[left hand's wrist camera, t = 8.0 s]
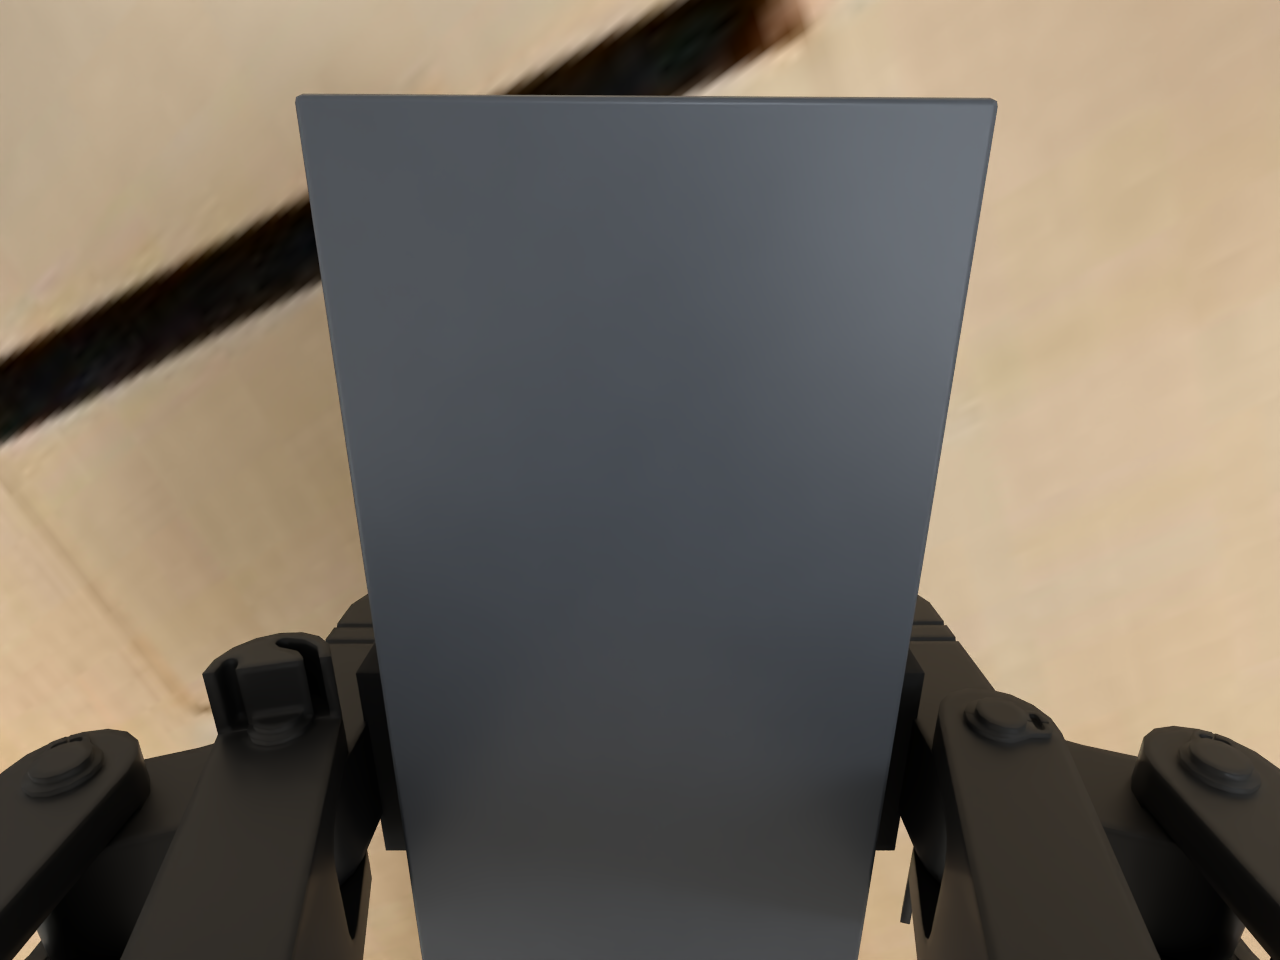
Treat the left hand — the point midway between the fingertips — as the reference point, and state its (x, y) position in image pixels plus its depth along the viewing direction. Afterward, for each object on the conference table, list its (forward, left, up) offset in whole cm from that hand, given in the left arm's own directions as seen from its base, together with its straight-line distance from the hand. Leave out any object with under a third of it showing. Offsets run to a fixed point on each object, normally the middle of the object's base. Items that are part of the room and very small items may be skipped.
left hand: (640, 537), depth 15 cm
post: (+25, +5, -1) cm, 26 cm away
